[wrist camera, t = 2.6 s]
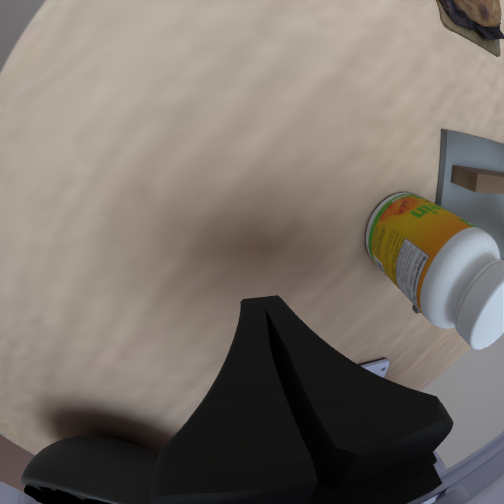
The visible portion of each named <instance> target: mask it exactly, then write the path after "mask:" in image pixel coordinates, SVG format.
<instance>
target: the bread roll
mask: <svg viewBox="0 0 504 504" xmlns="http://www.w3.org/2000/svg"><path fill="white" fill-rule="evenodd" d="M436 2H437V5H438V7H439V12H440V19H441V21H442V23H443V25H444V27H445V28H447V29H448V30H450V31H453V32H455V33H457V34H459V35H461V36H463V37H464V38H466V39H468V40H470V41H471V42H473V43H475V44H477V45H479V46H480V47H482V48H484V49H485V50H487V51H489V52H490V53H492V54H493V55H495V56H497V57H499V56H500V43H499V39H504V35H503V33H502V32H501V31H500V24H501V23H500V20H501V8H500V3H499V0H436Z"/></svg>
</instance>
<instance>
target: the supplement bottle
mask: <svg viewBox="0 0 504 504" xmlns="http://www.w3.org/2000/svg"><path fill="white" fill-rule="evenodd" d="M366 246H367V250H368V253H369V255H370V257H371V259H372V260H373V261H374V263H375V264H376V265H377V266H378V267H379V268H380V269H381V270H382V271H383V272H384V273H385V274H386V275H387V276H388V277H389V278H390V279H391V280H392V282H393V283H394V284H395V285H396V286H397V287H398V288H399V289H400V290H401V291H402V292H403V293H404V294H405V295H406V296H407V298H408V299H409V300H410V301H411V302H412V303H413V304H414V305H415V306H416V307H417V308H418V310H419V311H420V312H421V313H422V314H423V315H424V316H425V317H426V318H427V319H428V320H429V321H430V322H431V323H432V324H433V325H435V326H437V327H440V328H446V329H449V328H456V330H457V331H458V333H459V335H460V336H461V337H462V338H463V339H464V340H465V341H466V342H467V343H468V344H469V345H470V346H471V347H472V348H473V349H476V350H480V349H483V348H485V347H487V346H489V345H491V344H492V343H493V342H494V341H496V340H497V339H498V338H499V337H500V336H501V335H502V334H503V333H504V260H501V259H500V253H499V249H498V246H497V244H496V242H495V240H494V239H493V238H492V237H491V236H490V235H489V234H488V233H487V232H485V231H484V230H482V229H480V228H479V227H477V226H475V225H473V224H471V223H470V222H468V221H466V220H464V219H462V218H461V217H459V216H457V215H455V214H453V213H451V212H449V211H448V210H446V209H444V208H442V207H440V206H438V205H436V204H434V203H432V202H430V201H428V200H426V199H424V198H422V197H420V196H418V195H416V194H413V193H407V192H403V193H397V194H394V195H392V196H390V197H388V198H387V199H385V200H384V201H383V202H382V203H381V204H380V205H379V206H378V207H377V208H376V210H375V211H374V213H373V214H372V216H371V218H370V221H369V223H368V227H367V231H366Z"/></svg>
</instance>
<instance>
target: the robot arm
mask: <svg viewBox="0 0 504 504" xmlns="http://www.w3.org/2000/svg"><path fill="white" fill-rule="evenodd" d="M240 303H241V311H240V317H239V322H238V326H237V329H236V333H235V336H234V339H233V342H232V345H231V347H230V350H229V352H228V355H227V357H226V360H225V362H224V364H223V366H222V368H221V370H220V372H219V374H218V376H217V378H216V380H215V381H214V383H213V385H212V386H211V388H210V390H209V391H208V393H207V395H206V396H205V398H204V399H203V401H202V402H201V404H200V405H199V406H198V408H197V409H196V410H195V411H194V413H193V414H192V415H191V417H190V418H189V419H188V421H187V422H186V423H185V424H184V426H183V427H182V428H181V429H180V430H179V431H178V432H177V433H176V434H175V435H174V436H173V438H172V439H171V440H170V441H169V442H168V443H167V444H166V445H165V446H164V447H163V448H162V449H161V451H160V453H159V456H158V459H157V462H156V465H155V469H154V473H153V478H152V489H151V504H504V431H503V432H502V433H501V434H499V435H498V436H497V437H495V438H494V439H493V440H491V441H490V442H489V443H487V444H486V445H484V446H483V447H482V448H480V449H479V450H477V451H476V452H474V453H473V454H471V455H470V456H468V457H467V458H465V459H463V460H462V461H460V462H459V463H457V464H455V465H454V466H452V467H450V468H448V469H447V468H446V466H445V465H444V463H443V461H442V459H441V458H440V456H439V455H438V454H437V452H436V451H434V450H435V449H436V448H437V447H438V446H439V445H440V443H441V442H442V441H443V440H444V439H445V438H446V437H447V435H448V434H449V433H450V431H451V429H452V426H453V421H452V419H451V417H450V416H449V414H448V413H447V411H446V409H445V407H444V406H443V404H442V403H441V402H440V401H439V399H438V398H437V397H436V396H433V395H430V394H426V393H423V392H420V391H416V390H413V389H410V388H407V387H404V386H402V385H399V384H397V383H394V382H392V381H390V380H387V379H385V378H384V377H385V374H386V372H387V369H388V366H389V363H390V362H389V361H388V359H383V360H379V361H376V362H372V363H368V364H364V365H358V364H356V363H355V362H353V361H351V360H350V359H348V358H347V357H345V356H344V355H342V354H341V353H339V352H338V351H336V350H335V349H334V348H332V347H331V346H330V345H329V344H327V343H326V342H325V341H324V340H323V339H321V338H320V337H319V336H318V335H317V334H316V333H314V332H313V331H312V330H311V329H310V328H309V327H308V326H307V325H306V324H305V323H304V322H303V321H302V320H301V319H300V318H299V317H298V316H297V315H296V314H295V313H294V312H293V311H292V310H291V309H290V308H289V307H288V305H287V304H286V303H285V302H284V301H283V300H282V299H281V298H280V297H279V296H278V295H277V296H268V297H259V298H249V299H243V300H242V301H241V302H240ZM0 504H42V503H39V502H37V501H36V500H35V499H33V498H32V497H30V496H28V495H27V494H25V493H23V492H21V491H19V490H17V489H15V488H13V487H11V486H9V485H7V484H5V483H3V482H1V481H0Z"/></svg>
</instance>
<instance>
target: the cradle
mask: <svg viewBox="0 0 504 504" xmlns="http://www.w3.org/2000/svg"><path fill="white" fill-rule="evenodd" d="M435 204H436V205H438V206H440V207H442V208H444V209H446V210H448V211H449V212H451V213H453V214H455V215H457V216H459V217H461V218H462V219H464V220H466V221H468V222H470V223H471V224H473V225H475V226H477V227H479V228H480V229H482V230H484V231H485V232H487V233H488V234H489V235H490V236H491V237H492V238H493V239H494V240H495V242H496V244H497V246H498V249H499V253H500V259H501V260H504V144H501V143H498V142H494V141H491V140H487V139H484V138H480V137H476V136H472V135H468V134H463V133H459V132H454V131H450V130H444V129H441V153H440V167H439V178H438V187H437V196H436V203H435ZM413 310H414V311H415V313H416V314H417V313H421V312H420V311H419V310H418V308H417V307H416V306H415V305H414V307H413Z"/></svg>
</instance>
